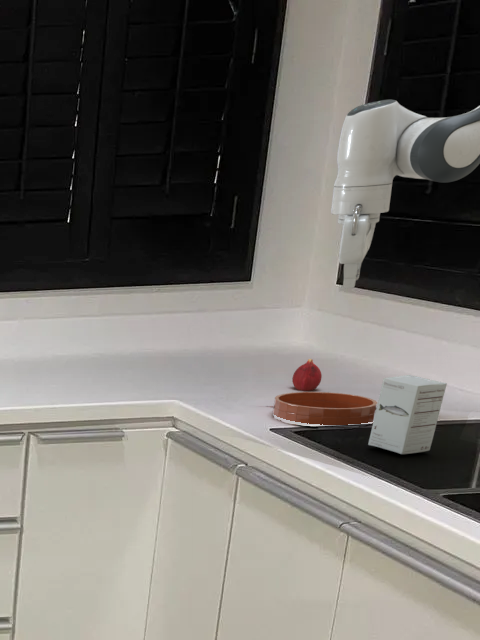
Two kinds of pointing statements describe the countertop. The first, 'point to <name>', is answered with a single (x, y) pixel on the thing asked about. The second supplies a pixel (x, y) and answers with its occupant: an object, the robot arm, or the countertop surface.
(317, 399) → the bowl
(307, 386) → the onion
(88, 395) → the countertop surface
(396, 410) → the white packaging box
